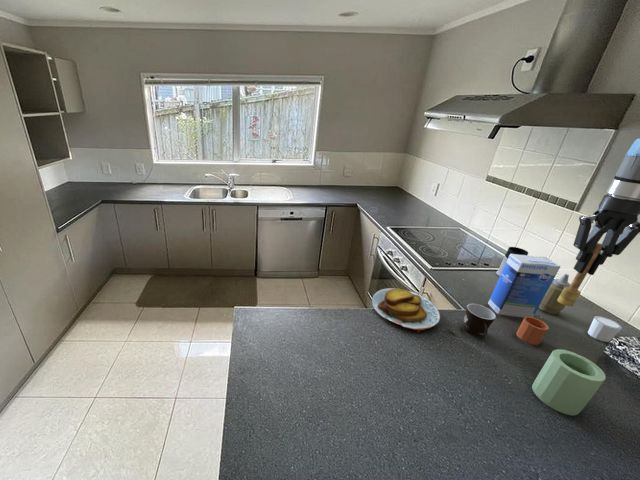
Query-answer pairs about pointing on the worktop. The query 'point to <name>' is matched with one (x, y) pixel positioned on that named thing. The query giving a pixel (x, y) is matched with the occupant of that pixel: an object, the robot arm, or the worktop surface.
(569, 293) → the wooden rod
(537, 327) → the brush cup
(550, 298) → the squeeze bottle
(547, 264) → the string lights box
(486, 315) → the coffee mug
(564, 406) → the sage green cup
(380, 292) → the food on plate
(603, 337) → the white cylinder
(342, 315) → the worktop surface
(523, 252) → the holder
